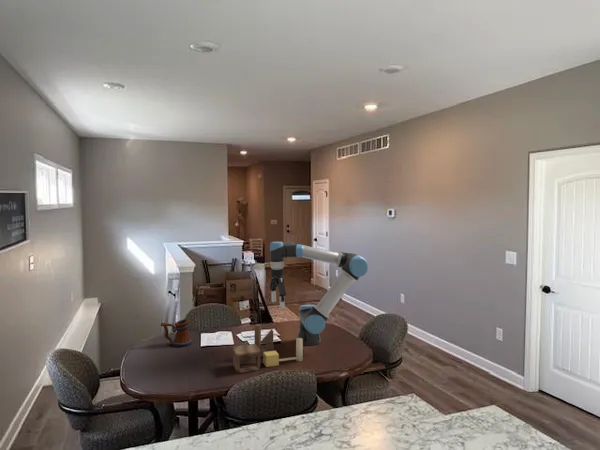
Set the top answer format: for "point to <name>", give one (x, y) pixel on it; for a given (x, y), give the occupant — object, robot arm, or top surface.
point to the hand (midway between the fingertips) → (277, 304)
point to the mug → (179, 333)
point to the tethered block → (273, 358)
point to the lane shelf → (246, 357)
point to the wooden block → (263, 340)
